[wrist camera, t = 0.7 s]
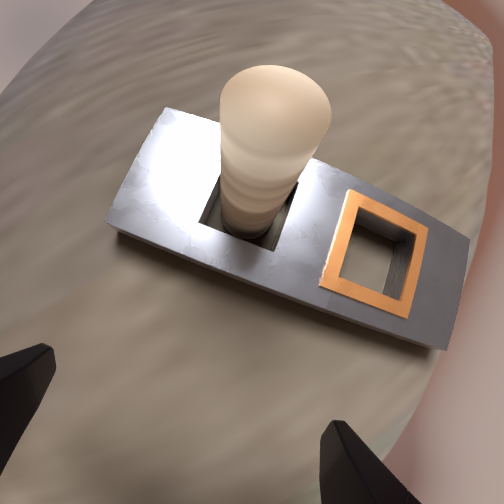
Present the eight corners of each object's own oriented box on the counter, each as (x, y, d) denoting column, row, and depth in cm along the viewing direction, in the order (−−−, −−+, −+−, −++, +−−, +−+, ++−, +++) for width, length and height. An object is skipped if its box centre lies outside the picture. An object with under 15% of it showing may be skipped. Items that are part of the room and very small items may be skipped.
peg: (267, 243, 23) (327, 164, 10) (216, 233, 23) (207, 138, 9) (276, 195, 24) (333, 80, 10) (227, 185, 24) (233, 57, 10)
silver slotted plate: (450, 245, 25) (472, 238, 22) (426, 347, 23) (448, 351, 20) (170, 126, 24) (165, 105, 21) (117, 231, 22) (102, 220, 19)
